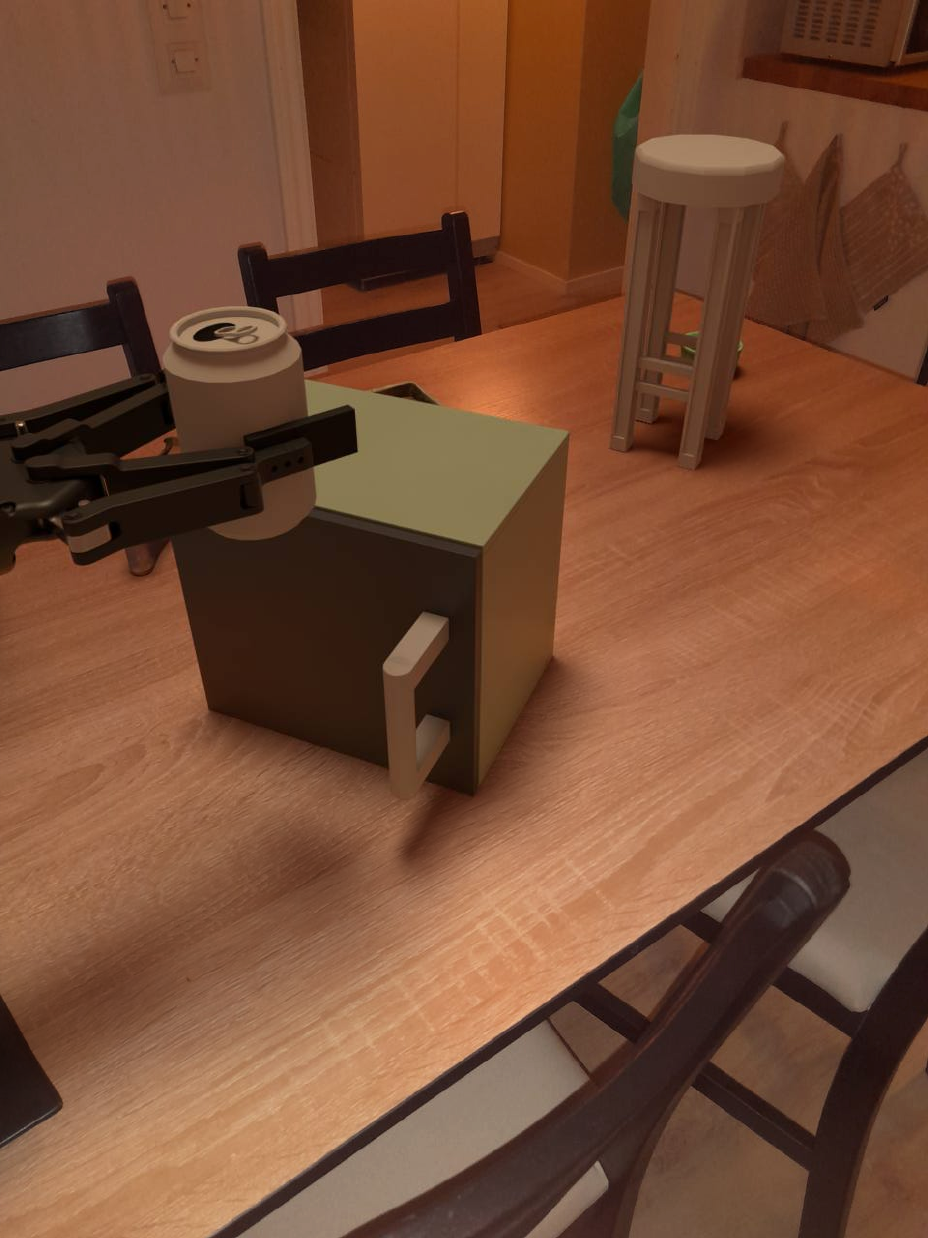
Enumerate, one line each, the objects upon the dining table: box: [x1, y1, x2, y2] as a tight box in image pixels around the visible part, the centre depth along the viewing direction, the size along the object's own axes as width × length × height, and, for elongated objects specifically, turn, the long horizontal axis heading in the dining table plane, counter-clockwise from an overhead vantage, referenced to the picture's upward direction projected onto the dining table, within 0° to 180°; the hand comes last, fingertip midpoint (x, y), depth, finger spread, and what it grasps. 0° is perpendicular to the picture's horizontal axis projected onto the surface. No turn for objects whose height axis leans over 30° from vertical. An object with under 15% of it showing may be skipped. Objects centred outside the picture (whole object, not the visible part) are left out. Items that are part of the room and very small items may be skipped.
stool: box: [609, 133, 786, 471], centre depth 115 cm, size 16×16×35 cm
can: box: [161, 305, 317, 540], centre depth 56 cm, size 8×8×12 cm
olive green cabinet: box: [304, 378, 571, 787], centre depth 82 cm, size 18×26×24 cm
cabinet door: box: [170, 509, 482, 800], centre depth 72 cm, size 8×26×23 cm, turn 67°
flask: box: [124, 537, 171, 577], centre depth 102 cm, size 9×3×11 cm, turn 173°
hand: (317, 403), depth 58 cm, fingers closed on can, 7 cm apart
